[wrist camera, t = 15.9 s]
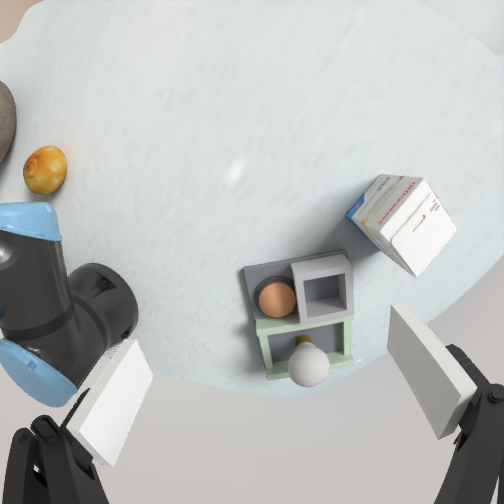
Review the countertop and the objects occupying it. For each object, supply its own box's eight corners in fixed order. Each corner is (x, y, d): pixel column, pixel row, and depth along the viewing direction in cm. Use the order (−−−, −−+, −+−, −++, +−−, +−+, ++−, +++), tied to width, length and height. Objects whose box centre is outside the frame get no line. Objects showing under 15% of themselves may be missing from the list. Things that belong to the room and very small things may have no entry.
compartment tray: (265, 365, 45) (265, 387, 40) (243, 266, 40) (241, 282, 35) (348, 350, 44) (357, 370, 39) (344, 249, 39) (356, 261, 33)
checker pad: (262, 315, 40) (262, 320, 39) (256, 284, 39) (256, 288, 38) (296, 310, 40) (297, 314, 39) (292, 278, 38) (293, 282, 37)
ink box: (379, 252, 39) (416, 281, 27) (344, 214, 37) (376, 233, 26) (414, 212, 36) (459, 229, 25) (381, 172, 35) (424, 176, 24)
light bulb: (279, 348, 43) (282, 391, 33) (293, 319, 41) (301, 360, 31) (311, 356, 43) (320, 398, 33) (326, 328, 41) (341, 369, 32)
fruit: (56, 129, 32) (17, 150, 26) (79, 163, 34) (39, 188, 29) (49, 156, 37) (15, 177, 31) (69, 188, 39) (36, 212, 34)
